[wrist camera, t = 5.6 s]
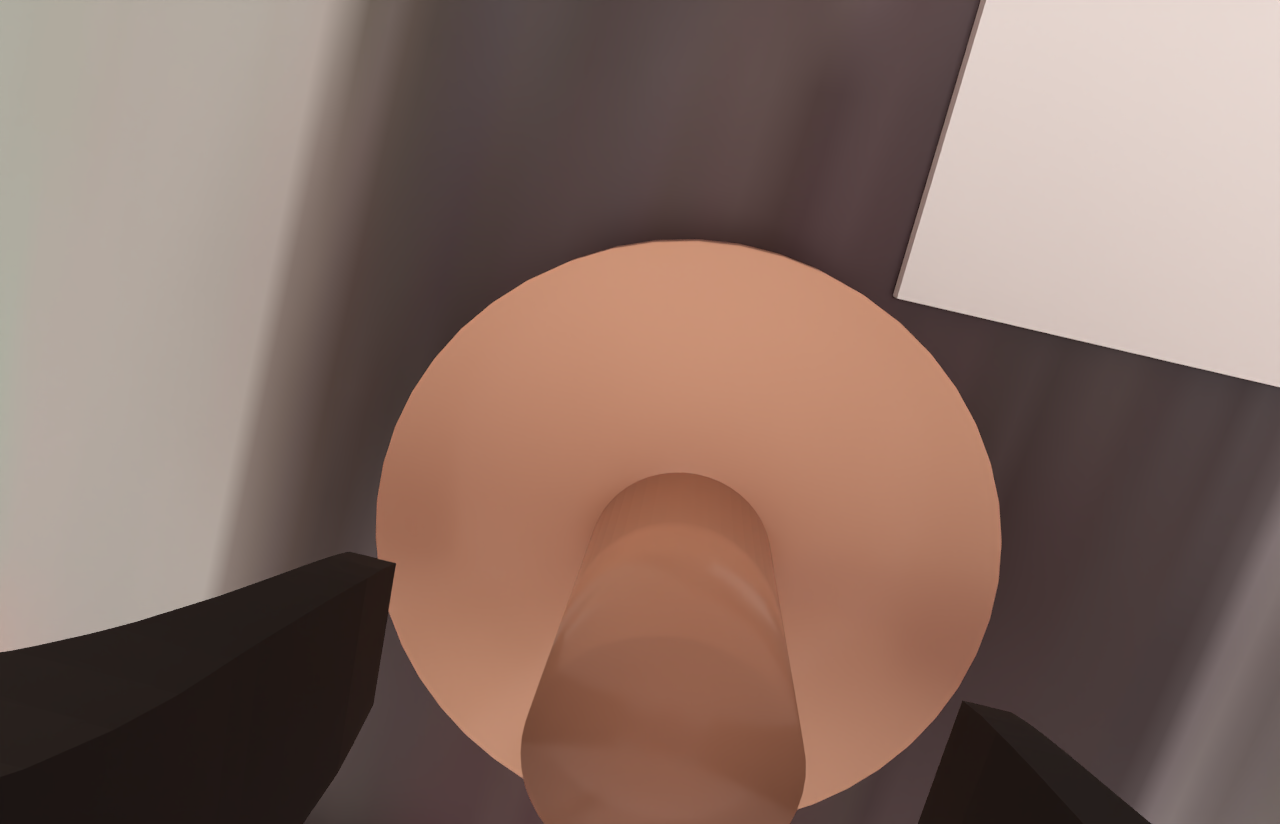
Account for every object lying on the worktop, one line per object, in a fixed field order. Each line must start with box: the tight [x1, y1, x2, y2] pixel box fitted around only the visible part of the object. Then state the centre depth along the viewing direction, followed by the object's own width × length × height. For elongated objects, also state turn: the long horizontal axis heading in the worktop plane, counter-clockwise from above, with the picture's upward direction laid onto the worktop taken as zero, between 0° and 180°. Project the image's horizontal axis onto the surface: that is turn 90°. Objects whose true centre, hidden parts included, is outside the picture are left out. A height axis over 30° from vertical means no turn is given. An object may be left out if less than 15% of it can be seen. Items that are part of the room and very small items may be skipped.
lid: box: [376, 239, 1002, 824], centre depth 11 cm, size 10×10×6 cm
